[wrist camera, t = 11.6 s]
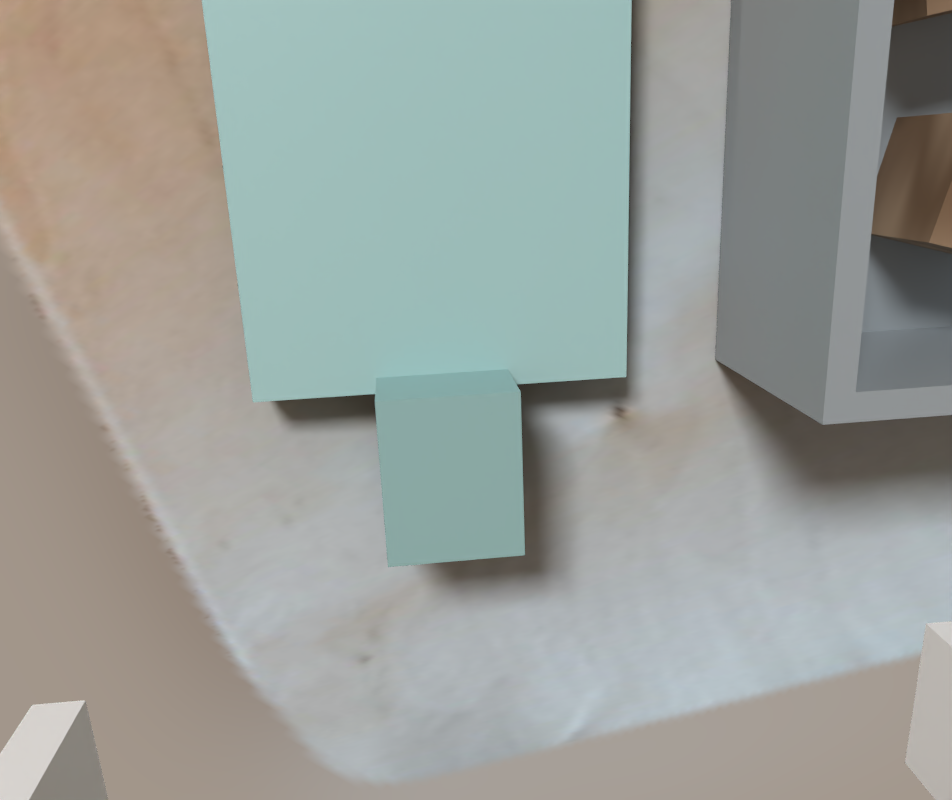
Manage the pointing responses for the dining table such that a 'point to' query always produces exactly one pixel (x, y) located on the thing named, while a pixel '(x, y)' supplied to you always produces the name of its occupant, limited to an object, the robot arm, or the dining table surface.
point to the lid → (429, 228)
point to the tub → (829, 211)
